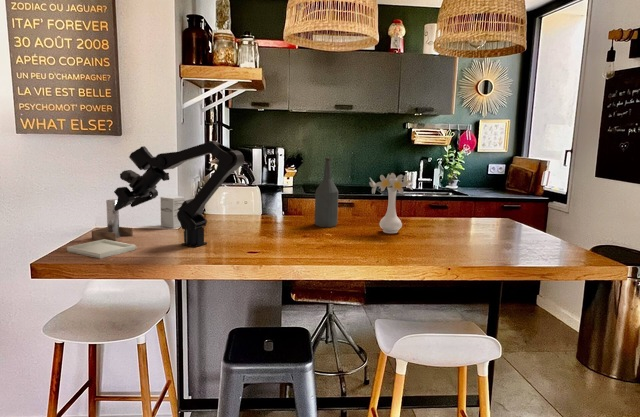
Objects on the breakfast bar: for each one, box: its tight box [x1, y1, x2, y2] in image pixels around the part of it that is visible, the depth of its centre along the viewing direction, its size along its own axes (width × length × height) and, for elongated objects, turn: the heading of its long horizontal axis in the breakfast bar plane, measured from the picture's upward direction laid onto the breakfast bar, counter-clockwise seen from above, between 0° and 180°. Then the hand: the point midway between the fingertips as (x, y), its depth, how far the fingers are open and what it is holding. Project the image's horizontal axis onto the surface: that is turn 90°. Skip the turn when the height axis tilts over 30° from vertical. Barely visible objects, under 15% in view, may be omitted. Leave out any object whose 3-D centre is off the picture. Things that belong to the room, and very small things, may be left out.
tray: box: [66, 239, 137, 260], centre depth 156 cm, size 16×14×2 cm
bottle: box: [314, 157, 339, 228], centre depth 207 cm, size 10×10×30 cm
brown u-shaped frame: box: [91, 226, 134, 241], centre depth 175 cm, size 10×10×3 cm
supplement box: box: [160, 195, 186, 229], centre depth 197 cm, size 7×7×13 cm
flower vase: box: [368, 172, 413, 234], centre depth 196 cm, size 13×18×25 cm
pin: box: [105, 199, 121, 239], centre depth 174 cm, size 4×4×14 cm
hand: (123, 208), depth 172 cm, fingers open, 9 cm apart
